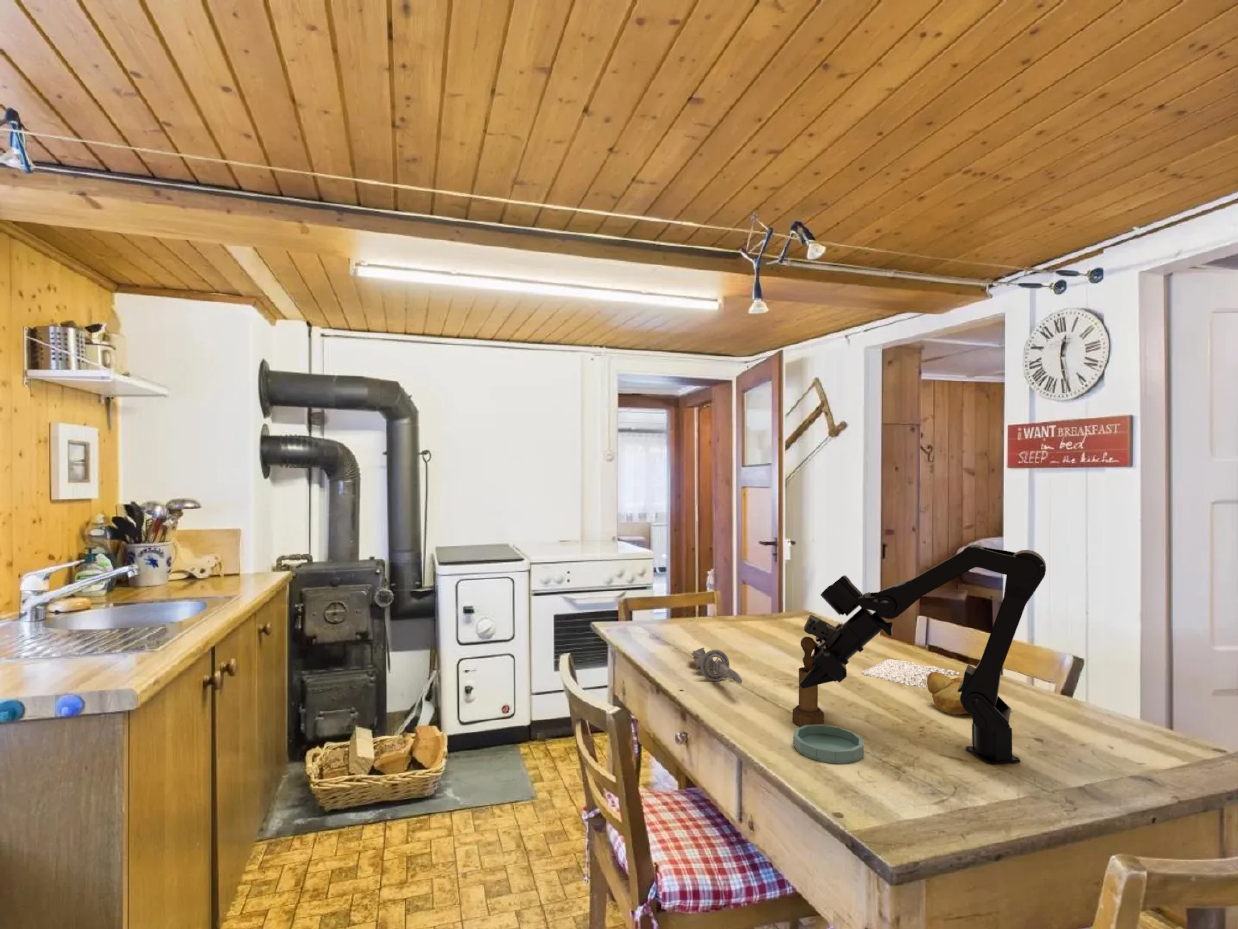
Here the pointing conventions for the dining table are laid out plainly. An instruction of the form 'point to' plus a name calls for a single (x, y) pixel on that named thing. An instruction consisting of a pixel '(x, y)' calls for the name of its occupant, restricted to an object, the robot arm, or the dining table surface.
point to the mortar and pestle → (807, 691)
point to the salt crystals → (904, 672)
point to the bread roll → (946, 693)
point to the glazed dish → (828, 743)
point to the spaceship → (714, 665)
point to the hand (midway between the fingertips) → (801, 681)
